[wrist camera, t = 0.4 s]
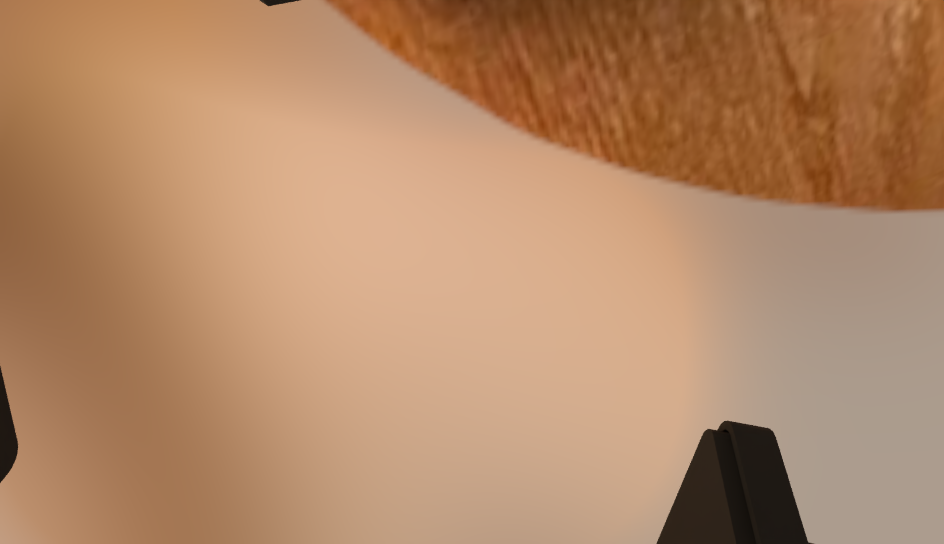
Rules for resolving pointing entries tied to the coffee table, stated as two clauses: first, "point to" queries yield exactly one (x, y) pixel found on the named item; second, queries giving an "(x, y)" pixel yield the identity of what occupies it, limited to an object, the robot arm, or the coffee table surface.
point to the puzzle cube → (276, 2)
